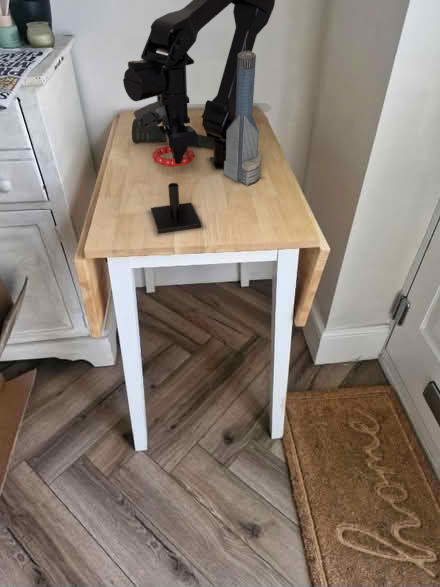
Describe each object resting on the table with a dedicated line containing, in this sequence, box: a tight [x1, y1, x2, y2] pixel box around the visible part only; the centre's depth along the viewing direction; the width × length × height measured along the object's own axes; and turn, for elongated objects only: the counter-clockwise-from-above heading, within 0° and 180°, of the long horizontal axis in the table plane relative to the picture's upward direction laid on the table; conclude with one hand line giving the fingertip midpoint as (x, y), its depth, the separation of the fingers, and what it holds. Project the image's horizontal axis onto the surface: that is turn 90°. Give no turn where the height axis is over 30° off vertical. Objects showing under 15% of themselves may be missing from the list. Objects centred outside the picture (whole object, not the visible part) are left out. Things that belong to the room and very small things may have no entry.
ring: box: [151, 145, 196, 168], centre depth 102 cm, size 10×10×2 cm
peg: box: [150, 182, 202, 235], centre depth 88 cm, size 9×9×8 cm
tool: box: [131, 118, 214, 149], centre depth 117 cm, size 28×6×7 cm, turn 80°
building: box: [223, 43, 263, 187], centre depth 96 cm, size 10×9×30 cm
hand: (177, 161), depth 99 cm, fingers closed on ring, 2 cm apart
